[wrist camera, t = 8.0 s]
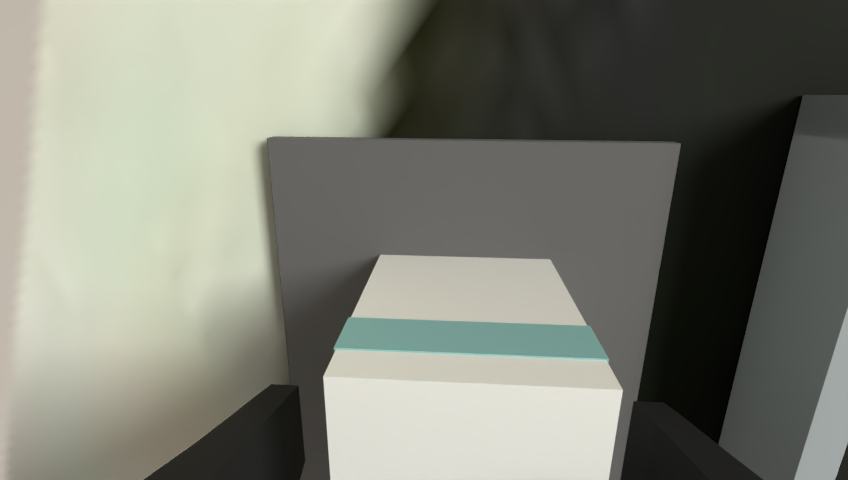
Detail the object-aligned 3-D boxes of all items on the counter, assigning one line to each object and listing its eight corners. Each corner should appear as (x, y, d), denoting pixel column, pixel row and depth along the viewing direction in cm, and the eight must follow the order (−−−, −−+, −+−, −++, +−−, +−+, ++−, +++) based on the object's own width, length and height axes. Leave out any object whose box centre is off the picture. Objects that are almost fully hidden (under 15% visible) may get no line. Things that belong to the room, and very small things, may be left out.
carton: (551, 258, 11) (625, 387, 6) (531, 467, 13) (576, 691, 8) (379, 253, 11) (321, 374, 6) (384, 459, 13) (342, 671, 8)
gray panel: (605, 549, 14) (609, 562, 14) (309, 530, 14) (305, 542, 14) (672, 141, 10) (681, 143, 10) (273, 136, 11) (267, 138, 10)
